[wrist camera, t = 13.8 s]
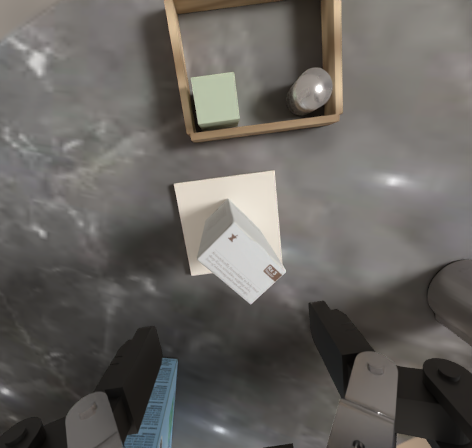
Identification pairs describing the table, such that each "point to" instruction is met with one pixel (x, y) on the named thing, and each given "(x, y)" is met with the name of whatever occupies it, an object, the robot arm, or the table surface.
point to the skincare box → (238, 252)
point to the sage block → (216, 101)
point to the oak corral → (179, 3)
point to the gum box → (158, 411)
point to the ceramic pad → (241, 195)
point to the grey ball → (309, 91)
